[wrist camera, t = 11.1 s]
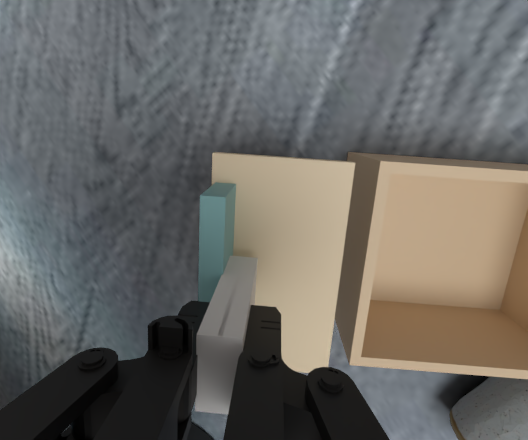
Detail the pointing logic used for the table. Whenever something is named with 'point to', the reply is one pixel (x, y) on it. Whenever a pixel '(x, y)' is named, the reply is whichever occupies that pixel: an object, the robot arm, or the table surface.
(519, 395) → the ceramic mug
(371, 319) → the carton
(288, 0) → the table surface
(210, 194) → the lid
